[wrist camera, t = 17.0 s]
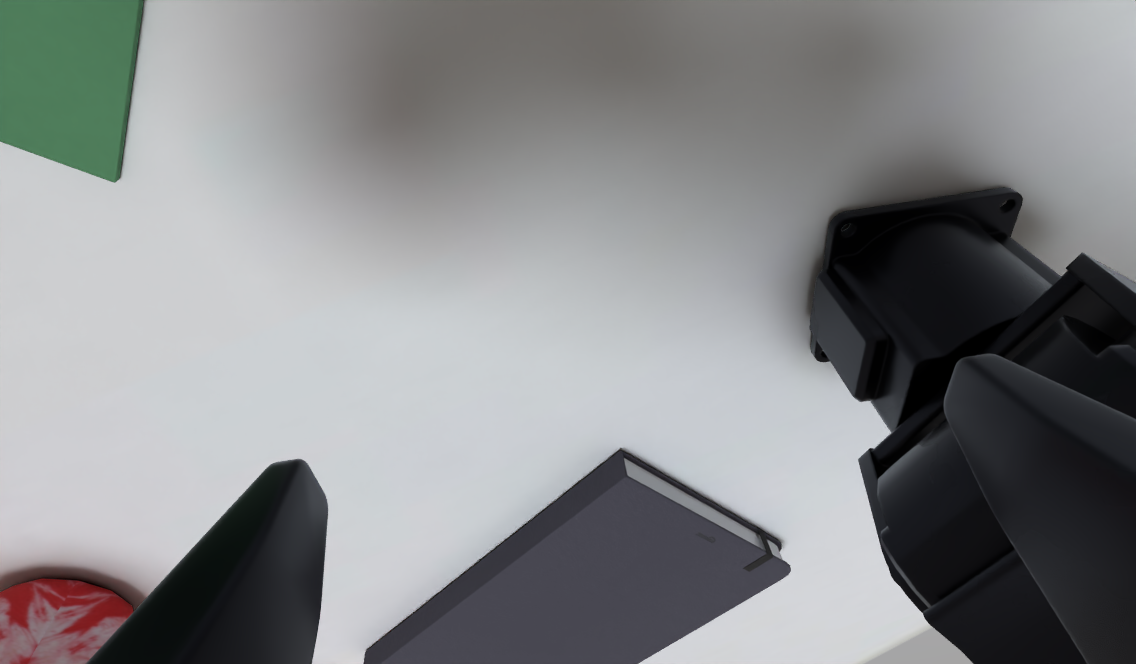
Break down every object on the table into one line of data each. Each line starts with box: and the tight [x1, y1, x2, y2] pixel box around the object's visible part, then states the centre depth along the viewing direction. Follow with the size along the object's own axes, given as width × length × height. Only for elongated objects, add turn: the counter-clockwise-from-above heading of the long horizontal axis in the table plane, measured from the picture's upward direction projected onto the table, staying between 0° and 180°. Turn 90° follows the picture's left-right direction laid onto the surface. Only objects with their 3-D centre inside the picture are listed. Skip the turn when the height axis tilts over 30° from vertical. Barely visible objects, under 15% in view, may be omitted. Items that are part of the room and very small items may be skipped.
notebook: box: [364, 450, 791, 664], centre depth 35 cm, size 13×2×21 cm
